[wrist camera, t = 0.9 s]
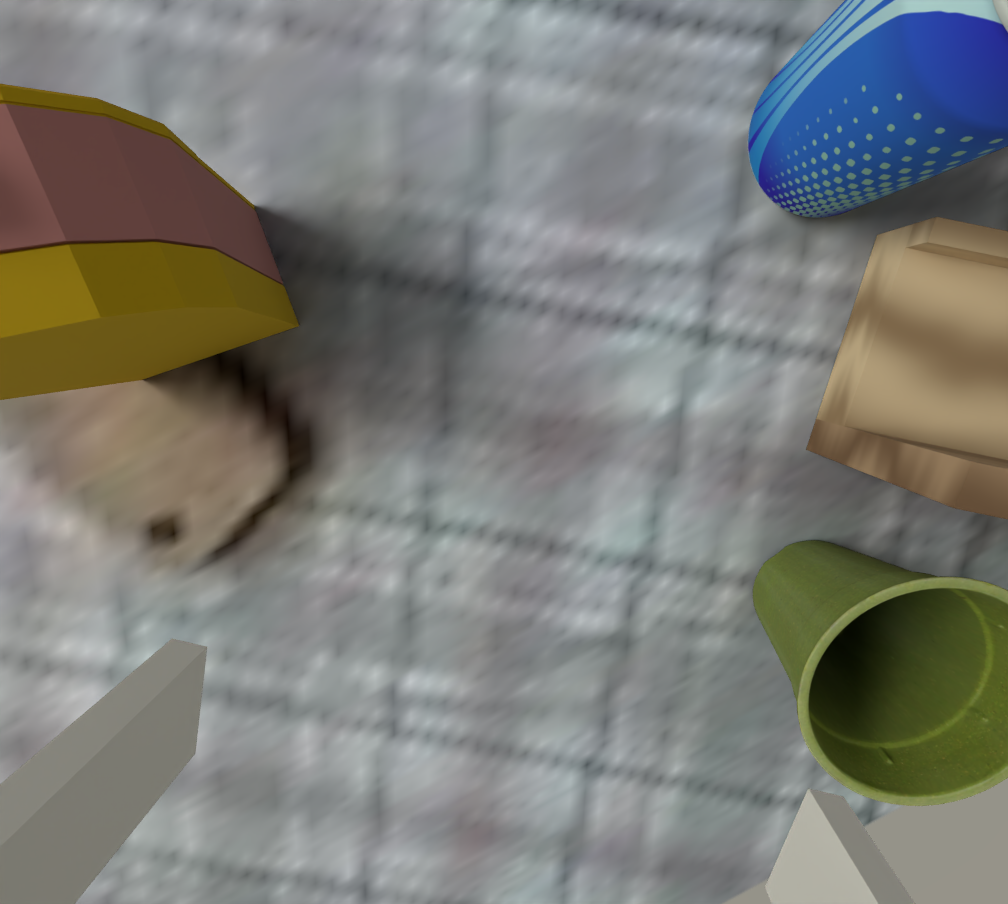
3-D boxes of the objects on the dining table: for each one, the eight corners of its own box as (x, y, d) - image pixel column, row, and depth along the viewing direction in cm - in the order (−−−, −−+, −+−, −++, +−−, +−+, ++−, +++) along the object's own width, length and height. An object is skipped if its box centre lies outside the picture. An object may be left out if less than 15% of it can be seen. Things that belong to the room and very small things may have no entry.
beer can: (916, 80, 29) (1365, -223, 13) (857, 238, 31) (1193, 133, 15) (768, 42, 29) (1045, -305, 13) (718, 203, 31) (910, 60, 15)
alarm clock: (275, 183, 32) (-56, -21, 14) (324, 317, 33) (83, 289, 15) (62, 263, 34) (-479, 174, 16) (118, 387, 35) (-317, 437, 17)
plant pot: (917, 636, 36) (1089, 768, 25) (744, 687, 37) (834, 833, 26) (876, 477, 34) (1043, 543, 23) (694, 537, 35) (769, 627, 24)
